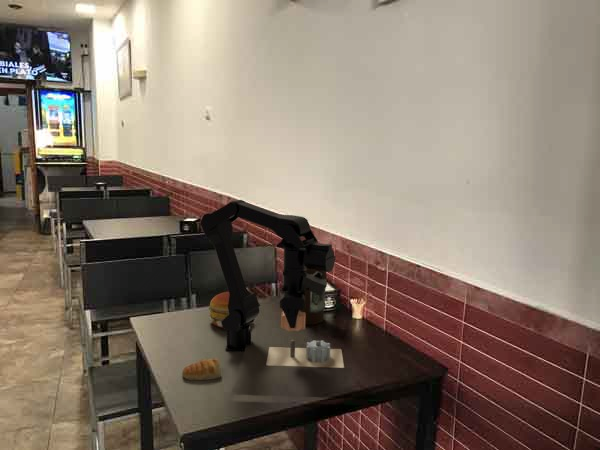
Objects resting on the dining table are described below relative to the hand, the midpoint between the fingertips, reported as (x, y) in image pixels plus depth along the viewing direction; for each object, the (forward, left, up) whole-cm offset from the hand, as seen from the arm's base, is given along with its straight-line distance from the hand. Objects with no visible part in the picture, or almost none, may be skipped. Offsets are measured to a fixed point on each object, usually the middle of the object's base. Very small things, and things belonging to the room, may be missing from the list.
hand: (292, 322), depth 131 cm
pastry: (-22, -9, -11) cm, 26 cm away
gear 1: (0, 0, -1) cm, 1 cm away
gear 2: (+7, 0, -10) cm, 12 cm away
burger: (-20, +25, -11) cm, 34 cm away
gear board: (+4, 0, -11) cm, 11 cm away
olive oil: (+5, +30, -11) cm, 32 cm away
